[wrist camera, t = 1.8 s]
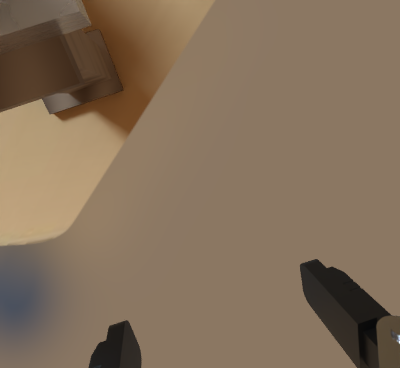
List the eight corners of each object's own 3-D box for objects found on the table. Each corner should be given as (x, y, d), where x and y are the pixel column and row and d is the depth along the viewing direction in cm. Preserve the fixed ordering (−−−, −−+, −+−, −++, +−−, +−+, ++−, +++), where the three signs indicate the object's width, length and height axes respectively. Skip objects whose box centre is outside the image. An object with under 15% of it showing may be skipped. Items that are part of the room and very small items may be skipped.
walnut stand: (53, 113, 44) (-113, 146, 16) (24, 55, 41) (-242, -27, 13) (123, 90, 45) (80, 83, 17) (100, 31, 42) (0, -96, 14)
